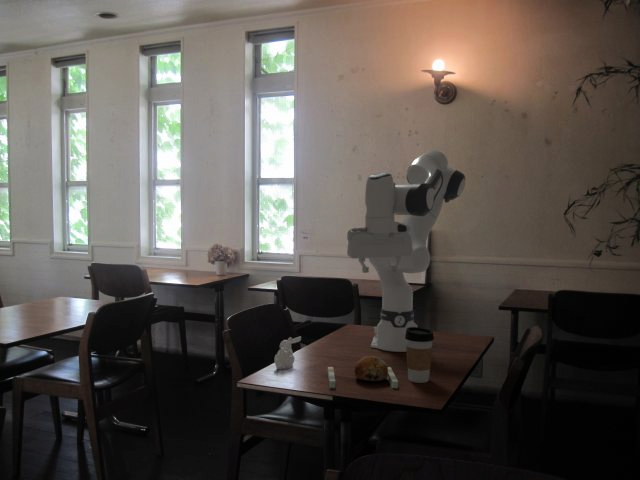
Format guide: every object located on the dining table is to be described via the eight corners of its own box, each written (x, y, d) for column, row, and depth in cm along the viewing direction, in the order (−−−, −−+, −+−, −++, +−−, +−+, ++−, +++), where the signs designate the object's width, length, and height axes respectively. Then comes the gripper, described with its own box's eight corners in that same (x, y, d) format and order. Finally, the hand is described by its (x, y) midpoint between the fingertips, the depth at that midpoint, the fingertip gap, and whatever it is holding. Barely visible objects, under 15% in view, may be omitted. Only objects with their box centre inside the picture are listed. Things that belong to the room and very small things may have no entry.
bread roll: (389, 389, 170) (394, 363, 173) (379, 381, 162) (385, 353, 165) (358, 384, 174) (363, 358, 177) (347, 375, 166) (353, 349, 169)
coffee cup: (413, 373, 176) (414, 325, 175) (438, 379, 170) (439, 329, 169) (398, 380, 169) (399, 329, 168) (424, 386, 164) (425, 334, 163)
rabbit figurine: (281, 360, 189) (281, 331, 188) (303, 362, 187) (304, 332, 187) (270, 370, 177) (271, 339, 177) (294, 372, 176) (294, 341, 175)
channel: (327, 373, 175) (327, 366, 175) (390, 373, 175) (390, 367, 175) (329, 388, 161) (329, 381, 161) (397, 388, 161) (398, 381, 161)
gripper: (350, 228, 169) (350, 274, 171) (414, 226, 175) (414, 271, 176) (344, 227, 175) (344, 272, 177) (406, 225, 181) (406, 268, 182)
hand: (380, 271), depth 176 cm, fingers open, 8 cm apart
